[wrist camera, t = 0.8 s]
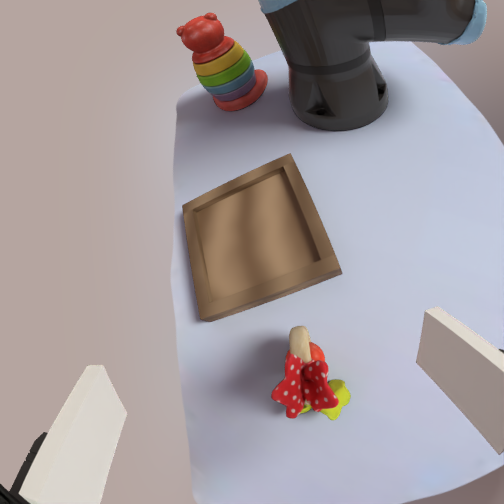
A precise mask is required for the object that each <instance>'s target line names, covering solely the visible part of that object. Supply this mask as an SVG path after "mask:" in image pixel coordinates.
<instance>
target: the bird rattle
mask: <svg viewBox="0 0 504 504" xmlns="http://www.w3.org/2000/svg"><path fill="white" fill-rule="evenodd" d="M289 343H290V350H289V351H288V353H287V355H286V359H285V378H284V379H283V380H282V381H281V382H280V383H279V384H278V385H277V386H276V387H275V389H274V390H273V391H272V395H271V398H272V399H273V400H275V401H277V402H279V403H281V404H283V405H285V406H286V407H287V409H286V416H287V417H288V418H296V417H297V416H298V415H299V414H301V413H305V412H307V411H309V410H310V409H311V408H313V410H314V411H315V412H319V411H320V412H322V413H323V414H325V415H327V416H328V418H329V419H330V420H335V419H337V418H338V416H339V415H340V412H341V408H342V406H345V405H347V404H348V403H349V400H350V397H351V395H350V393H349V391H348V389H347V388H346V387H345V382H344V381H342V380H331V381H330V382H329V383H327V376H328V365H327V364H326V362H325V357H324V353H323V351H322V350H321V349H320V347H319V346H317V345H316V344H314V343H312V342H311V340H310V336H309V332H308V330H307V328H306V327H304V326H297V327H294V328H292V329H291V330H290V334H289Z"/></svg>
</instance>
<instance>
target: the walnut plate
mask: <svg viewBox="0 0 504 504" xmlns="http://www.w3.org/2000/svg"><path fill="white" fill-rule="evenodd" d="M182 208H183V215H184V223H185V230H186V237H187V244H188V250H189V257H190V263H191V269H192V275H193V281H194V287H195V293H196V298H197V304H198V309H199V315H200V319H201V320H204V321H208V322H212V321H215V320H218V319H221V318H224V317H227V316H230V315H233V314H236V313H239V312H242V311H245V310H247V309H250V308H253V307H256V306H259V305H262V304H264V303H267V302H270V301H273V300H275V299H278V298H281V297H284V296H286V295H289V294H292V293H294V292H297V291H300V290H302V289H305V288H307V287H310V286H313V285H315V284H318V283H320V282H323V281H325V280H328V279H331V278H333V277H336V276H338V275H340V274H342V271H341V268H340V265H339V263H338V260H337V258H336V255H335V253H334V250H333V248H332V245H331V243H330V240H329V238H328V235H327V233H326V231H325V228H324V226H323V224H322V221H321V219H320V217H319V214H318V212H317V210H316V207H315V205H314V203H313V201H312V198H311V196H310V194H309V192H308V189H307V187H306V185H305V183H304V181H303V179H302V176H301V174H300V172H299V170H298V168H297V166H296V164H295V162H294V160H293V157H292V155H291V153H290V154H287V155H285V156H283V157H281V158H278V159H276V160H274V161H272V162H269V163H267V164H265V165H263V166H261V167H258V168H256V169H254V170H252V171H250V172H248V173H246V174H244V175H241V176H239V177H237V178H235V179H233V180H231V181H229V182H227V183H225V184H223V185H221V186H219V187H217V188H215V189H213V190H211V191H209V192H207V193H205V194H203V195H201V196H199V197H197V198H195V199H194V200H192V201H190V202H188V203H186V204H184V205H182Z"/></svg>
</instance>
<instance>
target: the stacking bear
mask: <svg viewBox="0 0 504 504" xmlns="http://www.w3.org/2000/svg"><path fill="white" fill-rule="evenodd" d="M177 35H179V36H181V39H182V42H183V43H184V45H185V46H186V47H187V48H188V49H190V50H192V51H194V53H193V56H192V61H193V66H194V69H195V71H196V74H197V77H198V79H199V81H200V83H201V84H202V85H203V87H204V88H205V89H206V90H207V91H208V92H210V93H211V94H212V95H213V99H214V102H215V103H216V105H217V106H218V107H219V108H220V109H222V110H225V111H235V110H239V109H242V108H244V107H247V106H249V105H250V104H252V103H253V102H255V101H256V100H257V99H258V98H259V97H260V96H261V94H262V93H263V91H264V90H265V88H266V85H267V80H268V78H267V75H266V73H265V72H264V71H263V70H259V69H258V70H254V66H253V63H252V60H251V59H250V57H249V55H248V54H247V52H246V51H245V50H244V49H243V48H242V47H241V46H240V45H239V44H238V43H237V42H236V41H234V40H233V39H232V38H230V37H227V36H224V29H223V26H222V24H221V23H220V21H219V20H218V19H217V16H216V15H215V14H214V13H207V14H206V15H205V16H200V17H197V18H194V19H192V20H191V21H189V22H188V23H186V25H185V26H180V27H179V28H178V29H177Z"/></svg>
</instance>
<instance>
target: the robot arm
mask: <svg viewBox="0 0 504 504" xmlns="http://www.w3.org/2000/svg"><path fill="white" fill-rule="evenodd" d="M259 3H260V5H261V11H262V12H263V13H264V14H265V16H266V18H267V20H268V22H269V24H270V26H271V28H272V30H273V32H274V35H275V37H276V39H277V41H278V43H279V46H280V48H281V50H282V52H283V55H284V57H285V59H286V61H287V64H288V66H289V99H290V102H291V105H292V107H293V110H294V112H295V114H296V115H297V116H298V118H300V119H301V120H302V121H303V122H305V123H306V124H308V125H311V126H313V127H316V128H320V129H325V130H349V129H355V128H359V127H362V126H365V125H367V124H369V123H371V122H373V121H374V120H376V119H377V118H379V117H380V116H381V115H382V114H383V112H384V111H385V109H386V107H387V104H388V90H387V85H386V82H385V79H384V77H383V75H382V74H381V72H380V70H379V68H378V66H377V64H376V62H375V61H374V59H373V57H372V55H371V52H370V46H369V42H378V41H412V42H432V43H438V44H441V45H450V44H461V45H465V44H470V43H473V42H474V41H476V40H477V39H478V38H479V37H480V35H481V34H482V32H483V30H484V27H485V24H486V18H487V8H486V3H484V2H483V0H259ZM416 363H417V364H418V365H419V366H420V367H421V368H422V369H423V370H424V371H425V372H426V374H427V375H428V376H429V377H430V378H431V379H432V380H433V381H434V382H435V383H436V384H437V385H438V386H439V387H440V389H441V390H442V391H443V392H444V393H445V394H446V395H447V396H448V397H449V398H450V399H451V401H452V402H453V403H454V404H455V405H456V406H457V407H458V408H459V409H460V411H461V412H462V413H463V414H464V415H465V416H466V417H467V418H468V420H469V421H470V422H471V423H472V424H473V425H474V426H475V427H476V429H477V430H478V431H479V432H480V433H481V434H482V436H483V437H484V438H485V439H486V440H487V441H488V443H489V444H490V445H491V446H492V447H493V449H494V450H495V451H496V452H497V453H498V454H499V455H500V454H501V453H502V452H503V451H504V350H501V349H497V348H496V347H494V346H493V345H492V344H490V343H489V342H487V341H486V340H485V339H483V338H482V337H481V336H479V335H478V334H477V333H475V332H474V331H472V330H471V329H470V328H468V327H467V326H465V325H464V324H463V323H461V322H460V321H458V320H457V319H455V318H454V317H453V316H451V315H450V314H448V313H447V312H445V311H444V310H442V309H441V308H439V307H438V306H437V307H434V308H431V309H428V310H425V314H424V321H423V327H422V333H421V339H420V344H419V350H418V355H417V359H416ZM126 416H127V412H126V410H125V408H124V407H123V405H122V403H121V401H120V399H119V397H118V395H117V393H116V391H115V389H114V387H113V385H112V383H111V381H110V379H109V377H108V375H107V372H106V370H105V368H104V366H103V365H88V366H87V367H86V369H85V371H84V372H83V373H82V375H81V377H80V378H79V380H78V382H77V383H76V385H75V387H74V388H73V390H72V392H71V393H70V395H69V397H68V398H67V400H66V402H65V404H64V405H63V407H62V409H61V410H60V412H59V414H58V416H57V418H56V419H55V421H54V423H53V425H52V427H51V428H50V430H49V432H48V433H45V432H44V433H43V434H42V435H41V436H40V437H38V439H36V440H35V442H34V444H33V445H32V447H31V449H30V453H28V455H27V457H26V461H24V463H23V465H22V467H21V469H20V471H19V473H18V475H17V477H16V479H15V481H14V483H13V485H12V488H11V489H10V491H7V490H6V489H5V488H4V487H3V486H2V485H1V484H0V504H100V503H101V499H102V496H103V492H104V488H105V484H106V481H107V477H108V473H109V470H110V467H111V464H112V460H113V457H114V454H115V450H116V447H117V444H118V441H119V438H120V434H121V431H122V428H123V425H124V422H125V419H126Z"/></svg>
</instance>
